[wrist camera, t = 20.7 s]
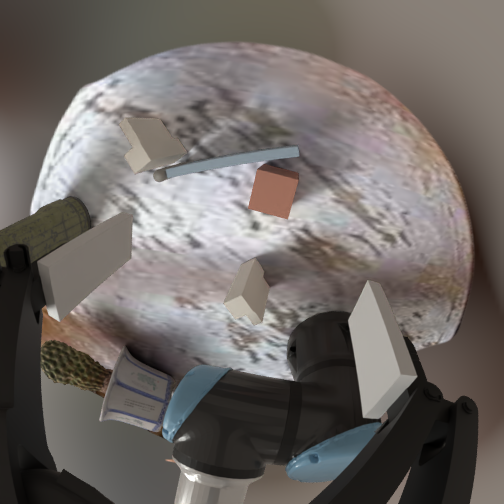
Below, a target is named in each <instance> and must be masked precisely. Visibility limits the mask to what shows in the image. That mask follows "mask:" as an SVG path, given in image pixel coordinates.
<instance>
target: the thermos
mask: <svg viewBox="0 0 504 504" xmlns="http://www.w3.org/2000/svg"><path fill="white" fill-rule="evenodd" d="M90 226H91V223H90V217H89V213H88V210H87V209H86V207H85V205H84V204H83V203H82V202H81V201H80V200H79V199H78V198H76V197H71V196H69V197H67V198H65V199H63V200H61V199H59V200H57V201H55V202H52V203H50V204H47V205H45V206H43V207H41V208H40V209H39V210H38V211H37V212H36V213H35V214H33V215H31V216H29V217H26V218H24V219H22V220H20V221H18V222H16V223H14V224H12V225H10V226H8V227H6V228H4V229H2V230H0V262H1V266H3V267H6V262H5V258H4V253H3V252H4V250H5V249H6V248H8V247H9V246H12V245H15V244H25V245H27V246H28V247H29V252H30V259H31V263H32V262H34V261H35V260H37V259H38V258H40V257H41V256H43V255H45V254H46V253H49V251H51V250H53V249H55V248H56V247H57V246H59V245H61V244H63V243H66V242H69V241H71V240H73V239H74V238H76V237H78V236H79V235H81V234H83V233H85V232H86V231H88V230H90Z"/></svg>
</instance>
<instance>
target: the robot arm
mask: <svg viewBox="0 0 504 504" xmlns="http://www.w3.org/2000/svg"><path fill="white" fill-rule="evenodd" d="M132 224H133V215H131V214H128V213H124V212H121V213H119V214H117V215H116V216H114V217H112V218H110V219H108V220H106V221H104V222H103V223H101V224H99V225H97V226H95V227H93V228H92V229H90V230H88V231H86V232H85V233H83V234H81V235H79V236H78V237H76V238H74V239H73V240H71V241H69V242H66V243H63V244H61V245H59V246H57V247H56V248H55V249H53V250H51V251H49V253H46V254H45V255H43V256H41V257H40V258H38V259H37V260H35V261H34V262H32V263H31V259H30V252H29V247H28V246H27V245H25V244H15V245H12V246H9V247H8V248H6V249H5V250H4V252H3V253H4V258H5V262H6V267H3V266H1V262H0V504H115V503H113V502H112V501H110V500H109V499H108V498H106V497H105V496H104V495H103V494H101V493H100V492H99V491H98V490H96V489H95V488H94V487H92V486H90V485H89V484H87V483H85V482H84V481H82V480H80V479H79V478H77V477H75V476H74V475H72V474H71V473H69V472H67V471H66V470H65V469H63V470H62V472H57V468H56V465H55V462H54V460H53V457H52V455H51V453H50V451H49V449H48V446H47V441H46V434H45V427H44V418H43V408H42V395H41V333H42V319H43V313H42V308H43V307H44V306H45V305H46V306H47V310H48V314H49V315H50V316H51V317H53V318H54V319H56V320H58V321H61V320H62V319H63V318H64V317H65V316H66V315H67V314H69V313H70V312H71V311H72V310H73V309H74V308H75V307H76V306H77V305H78V304H79V303H80V302H81V301H83V300H84V299H85V298H86V297H87V296H88V295H89V294H90V293H91V292H93V291H94V290H95V289H96V288H97V287H98V286H99V285H100V284H102V283H103V282H104V281H105V280H106V279H107V278H108V277H110V276H111V275H112V274H113V273H114V272H115V271H117V270H118V269H119V268H120V267H121V266H123V265H124V264H125V263H126V262H127V261H129V260H130V259H131V250H132ZM287 361H288V365H289V367H290V370H291V373H292V375H293V378H294V381H290V380H284V379H278V378H272V377H266V376H261V375H255V374H250V373H245V372H240V371H236V370H233V369H232V368H220V367H215V366H210V365H198V366H196V367H194V368H193V369H191V370H190V371H189V372H188V373H187V374H186V375H185V376H184V378H183V379H182V380H181V382H180V383H179V385H178V387H177V388H176V390H175V392H174V394H173V396H172V398H171V400H170V403H169V405H168V408H167V411H166V414H165V417H164V421H163V427H164V428H163V430H162V433H163V436H164V438H165V439H167V440H168V441H169V442H172V443H174V444H175V445H174V450H173V454H172V458H173V460H174V461H175V462H176V463H177V465H178V466H179V467H180V469H181V474H180V479H179V483H178V488H177V493H176V497H175V502H174V504H243V502H244V499H245V495H246V491H247V488H248V485H249V484H250V483H252V482H254V481H256V480H258V479H260V478H261V477H263V474H264V470H265V466H266V464H275V465H283V466H286V468H285V470H286V472H287V475H288V477H289V478H291V479H293V480H299V481H300V482H325V481H331V480H334V481H333V482H332V483H331V484H330V485H328V486H327V487H326V488H325V489H324V490H323V491H322V492H321V493H320V494H319V495H318V496H317V497H316V498H314V499H313V500H312V501H311V502H310V503H309V504H386V503H387V502H388V500H389V499H390V498H391V496H392V495H393V494H394V492H395V491H396V489H397V488H398V486H399V485H400V483H401V482H402V480H403V479H404V477H405V476H406V474H407V472H408V471H409V469H410V467H411V470H410V473H409V476H408V479H407V482H406V485H405V487H404V490H403V493H402V495H401V498H400V501H399V503H398V504H470V499H471V494H472V488H473V482H474V475H475V467H476V457H477V444H478V408H477V406H476V404H475V402H474V401H473V400H472V399H470V398H469V397H467V396H461V397H460V398H459V399H458V400H457V401H456V402H455V403H453V402H450V401H447V400H445V399H444V398H443V394H442V392H441V391H440V389H439V388H438V387H437V386H436V385H434V384H432V383H430V382H427V379H426V376H425V373H424V370H423V368H422V365H421V362H420V361H419V357H418V355H417V352H416V350H415V347H414V345H413V344H412V342H411V341H410V340H409V339H408V337H404V336H402V333H401V331H400V328H399V326H398V323H397V321H396V318H395V316H394V314H393V311H392V309H391V307H390V304H389V302H388V300H387V297H386V295H385V293H384V291H383V289H382V286H381V284H380V283H378V282H374V281H370V280H367V282H366V285H365V287H364V289H363V291H362V293H361V295H360V297H359V299H358V301H357V303H356V306H355V308H354V310H353V312H352V314H351V313H347V312H327V313H322V314H318V315H315V316H313V317H311V318H309V319H307V320H305V321H304V322H302V323H301V324H300V325H298V326H297V327H296V328H295V329H294V331H293V332H292V334H291V335H290V337H289V340H288V345H287ZM386 411H387V414H388V419H387V420H386V421H385V422H384V423H383V424H382V423H381V416H382V415H383V414H384V413H385V412H386Z"/></svg>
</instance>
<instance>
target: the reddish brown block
mask: <svg viewBox="0 0 504 504" xmlns="http://www.w3.org/2000/svg"><path fill="white" fill-rule="evenodd" d="M298 181H299V173H296V172H293V171H289V170H285V169H282V168H278V167H274V166H270V165H266V164H263V165H262V166H261V167H259V168H258V169H257V172H256V177H255V181H254V185H253V189H252V194H251V198H250V202H249V206H248V209H252V210H255V211H259V212H263V213H267V214H270V215H274V216H278V217H281V218H285V219H288V217H289V213H290V209H291V206H292V202H293V199H294V195H295V192H296V188H297V184H298Z"/></svg>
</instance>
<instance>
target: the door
mask: <svg viewBox="0 0 504 504" xmlns="http://www.w3.org/2000/svg"><path fill="white" fill-rule="evenodd" d="M291 157H299V148H298V145H292V146H283V147H276V148H268V149H261V150H255V151H248V152H242V153H236V154H230V155H225V156H219V157H214V158H209V159H204V160H199V161H194V162H190V163H187V162H183V163H179V164H176V165H172V166H169V167H165V168H162V169H158V170H156V171H155V172H154V174H153V177H154V179H155V181H157V182H161V181H164V180H167V179H169V178H172V177H176V176H181V175H186V174H191V173H196V172H201V171H206V170H211V169H217V168H222V167H228V166H234V165H240V164H247V163H253V162H260V161H267V160H275V159H283V158H291Z"/></svg>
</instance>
